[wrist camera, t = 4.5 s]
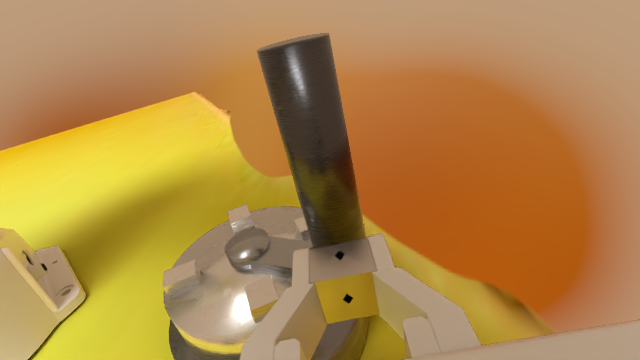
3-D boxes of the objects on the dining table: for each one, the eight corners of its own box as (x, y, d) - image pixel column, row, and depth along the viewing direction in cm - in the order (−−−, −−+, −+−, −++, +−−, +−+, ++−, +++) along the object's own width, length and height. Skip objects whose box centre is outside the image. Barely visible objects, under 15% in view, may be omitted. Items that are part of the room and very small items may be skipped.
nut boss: (172, 323, 28) (146, 283, 26) (312, 236, 35) (301, 197, 32) (231, 486, 18) (195, 441, 15) (417, 316, 24) (413, 267, 22)
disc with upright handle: (145, 338, 22) (-19, 113, 15) (246, 228, 31) (178, 53, 24) (343, 415, 16) (231, 79, 8) (398, 247, 25) (370, 15, 17)
